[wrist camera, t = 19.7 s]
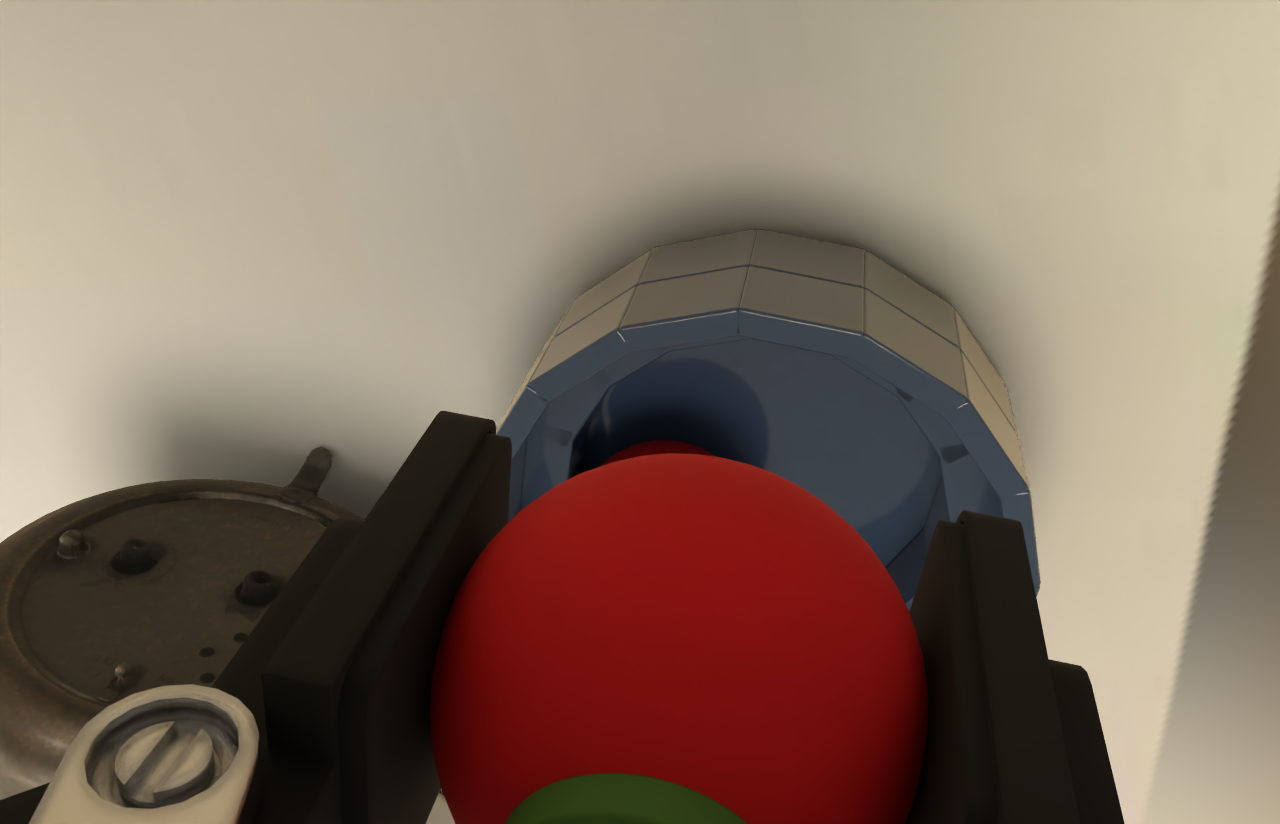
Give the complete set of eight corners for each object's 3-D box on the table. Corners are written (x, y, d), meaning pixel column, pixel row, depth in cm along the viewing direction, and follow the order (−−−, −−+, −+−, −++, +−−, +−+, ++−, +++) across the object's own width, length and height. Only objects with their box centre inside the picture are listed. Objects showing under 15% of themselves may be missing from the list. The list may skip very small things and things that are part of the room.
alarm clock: (140, 529, 34) (-366, 1056, 20) (135, 378, 31) (-458, 868, 17) (487, 628, 33) (215, 1239, 19) (513, 483, 30) (218, 1077, 17)
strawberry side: (501, 661, 13) (349, 1022, 9) (520, 332, 11) (331, 630, 7) (870, 740, 13) (868, 1152, 9) (968, 415, 11) (1022, 780, 7)
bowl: (512, 581, 32) (458, 705, 28) (553, 178, 26) (491, 258, 22) (933, 676, 31) (944, 819, 27) (1081, 280, 25) (1125, 385, 21)
